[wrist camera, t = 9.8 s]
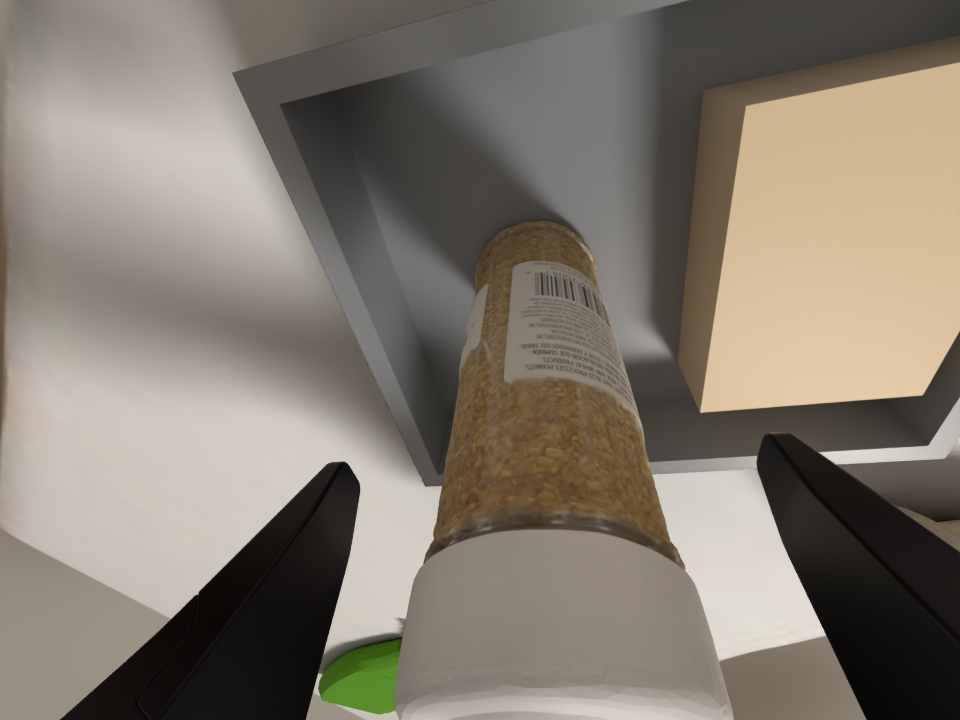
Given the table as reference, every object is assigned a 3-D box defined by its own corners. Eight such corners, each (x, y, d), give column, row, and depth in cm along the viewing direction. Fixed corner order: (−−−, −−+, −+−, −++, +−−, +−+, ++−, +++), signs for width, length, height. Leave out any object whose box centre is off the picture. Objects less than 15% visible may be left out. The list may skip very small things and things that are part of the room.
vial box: (867, 343, 17) (922, 395, 14) (677, 362, 18) (700, 413, 16) (1001, 26, 11) (1134, 26, 8) (703, 90, 12) (746, 105, 10)
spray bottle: (316, 668, 53) (395, 602, 39) (396, 689, 56) (494, 635, 42) (307, 697, 51) (387, 638, 37) (390, 718, 54) (492, 670, 40)
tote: (874, 385, 19) (944, 458, 16) (439, 422, 22) (425, 486, 19) (1135, -166, 9) (1454, -266, 6) (302, 61, 13) (232, 73, 10)
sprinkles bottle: (451, 273, 16) (319, 725, 6) (542, 187, 14) (591, 671, 4) (531, 344, 18) (539, 788, 8) (623, 277, 16) (815, 779, 5)
